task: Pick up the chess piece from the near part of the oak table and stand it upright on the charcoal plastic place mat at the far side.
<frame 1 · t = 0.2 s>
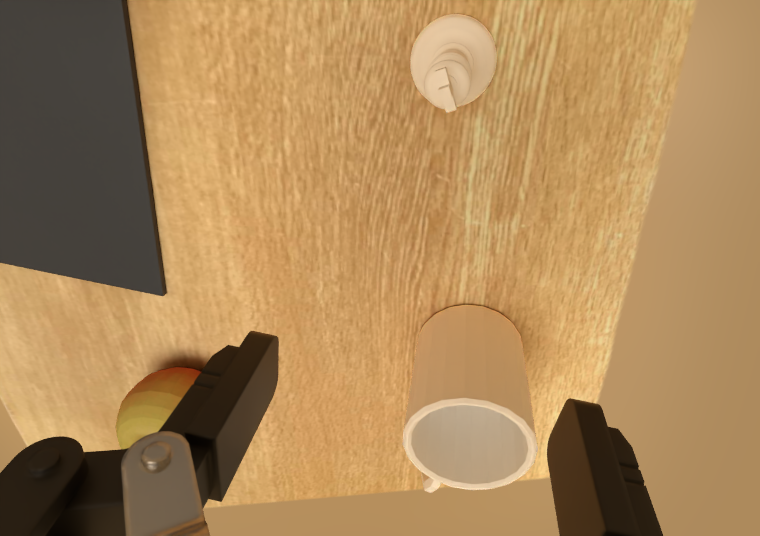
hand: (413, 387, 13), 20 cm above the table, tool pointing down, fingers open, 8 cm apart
mug: (458, 361, 38), on the table
mat: (46, 149, 34), on the table
apple: (200, 389, 45), on the table
chess piece: (452, 61, 27), on the table
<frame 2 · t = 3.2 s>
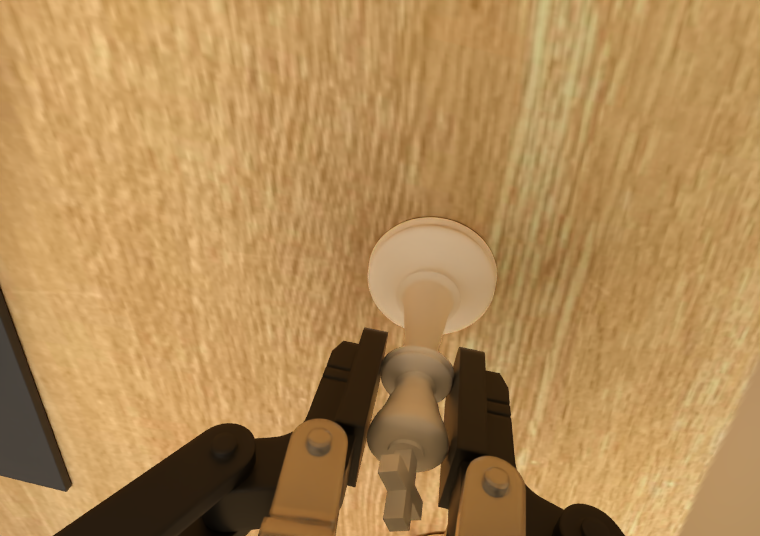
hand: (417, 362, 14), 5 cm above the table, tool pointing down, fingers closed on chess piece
chess piece: (431, 272, 18), on the table, touching gripper
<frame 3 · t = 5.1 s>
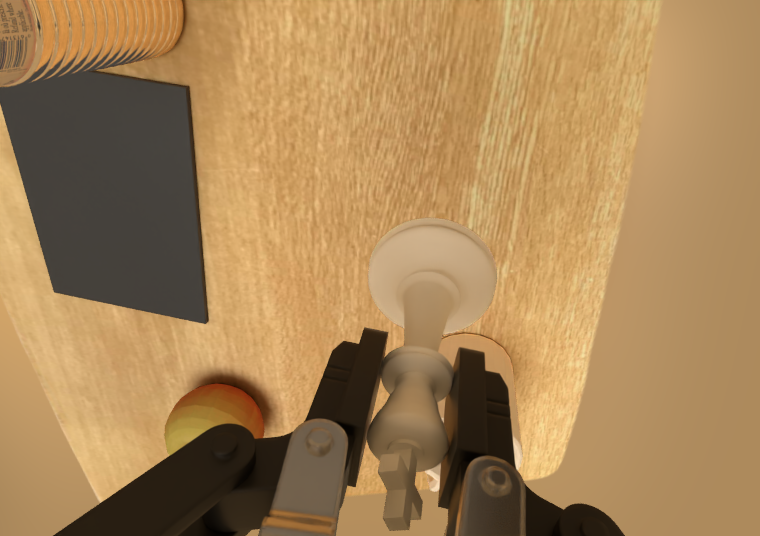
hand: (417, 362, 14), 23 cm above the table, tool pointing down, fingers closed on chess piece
mug: (458, 380, 45), on the table
mat: (113, 203, 41), on the table
water bottle: (143, 3, 33), on the table
apple: (232, 402, 52), on the table
chess piece: (431, 272, 18), point 18 cm above the table, touching gripper
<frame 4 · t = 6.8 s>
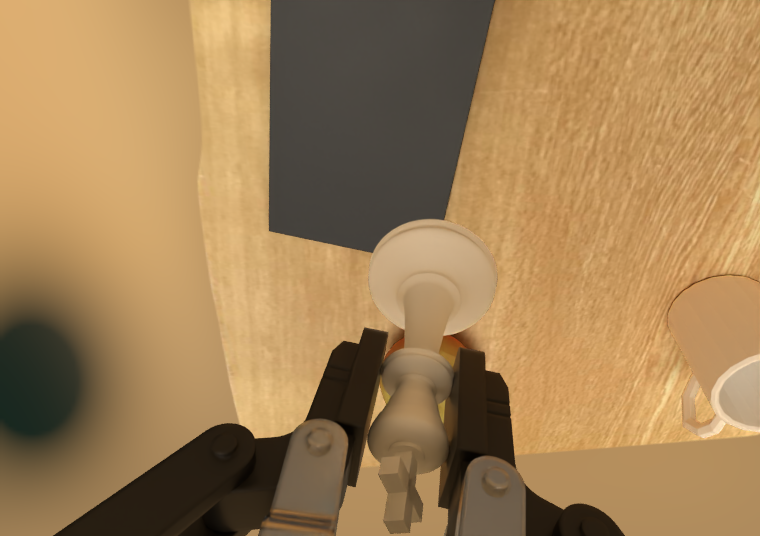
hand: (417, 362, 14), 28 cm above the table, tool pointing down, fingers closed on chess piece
mug: (701, 327, 43), on the table
mat: (364, 131, 39), on the table
apple: (432, 352, 50), on the table
chess piece: (432, 274, 18), point 23 cm above the table, touching gripper
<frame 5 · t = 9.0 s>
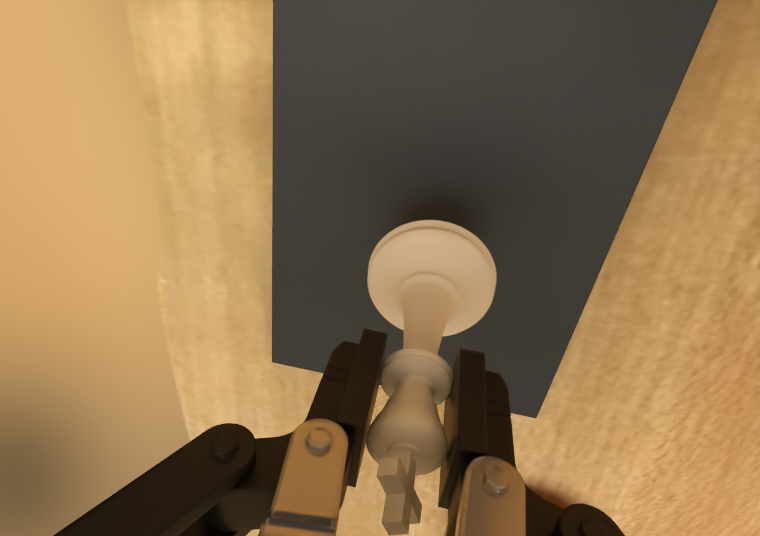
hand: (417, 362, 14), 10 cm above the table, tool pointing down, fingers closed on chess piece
mat: (435, 220, 23), on the table
chess piece: (431, 274, 18), point 5 cm above the table, touching gripper
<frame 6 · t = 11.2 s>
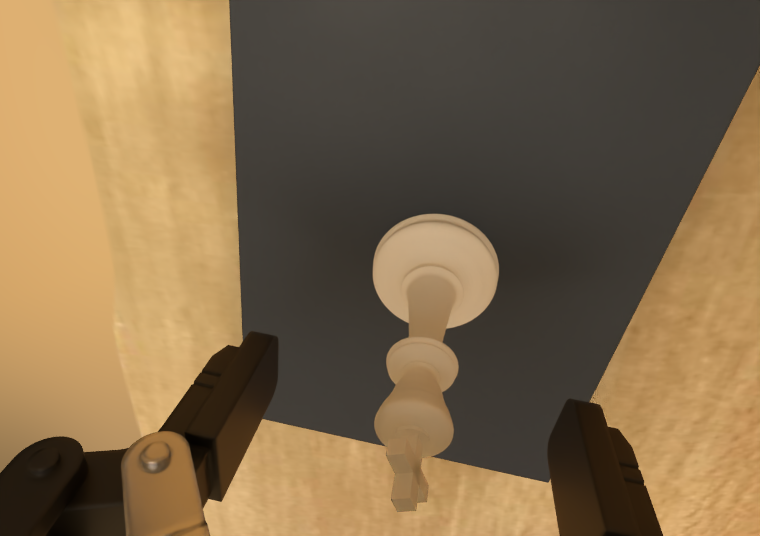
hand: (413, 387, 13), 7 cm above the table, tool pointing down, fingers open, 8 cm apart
mat: (431, 262, 19), on the table
chess piece: (435, 267, 19), resting on mat
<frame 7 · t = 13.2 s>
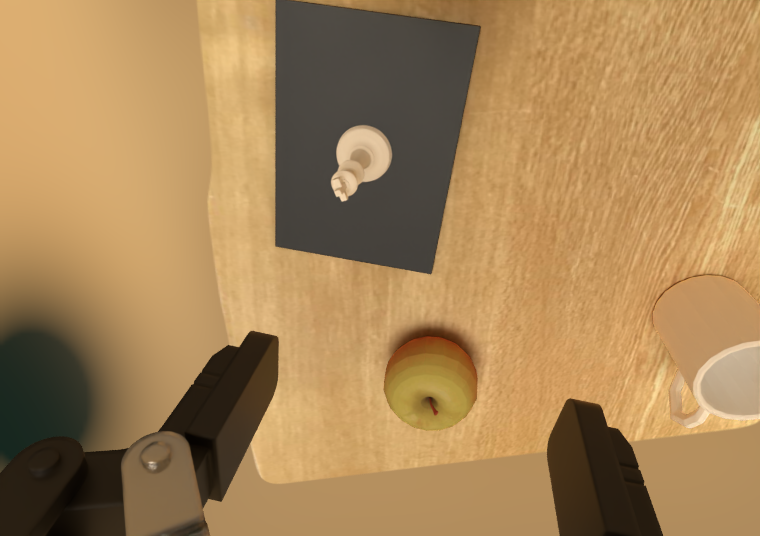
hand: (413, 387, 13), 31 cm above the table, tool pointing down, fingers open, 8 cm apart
mug: (684, 325, 46), on the table
mat: (363, 151, 42), on the table
apple: (432, 357, 53), on the table
chess piece: (364, 152, 42), resting on mat
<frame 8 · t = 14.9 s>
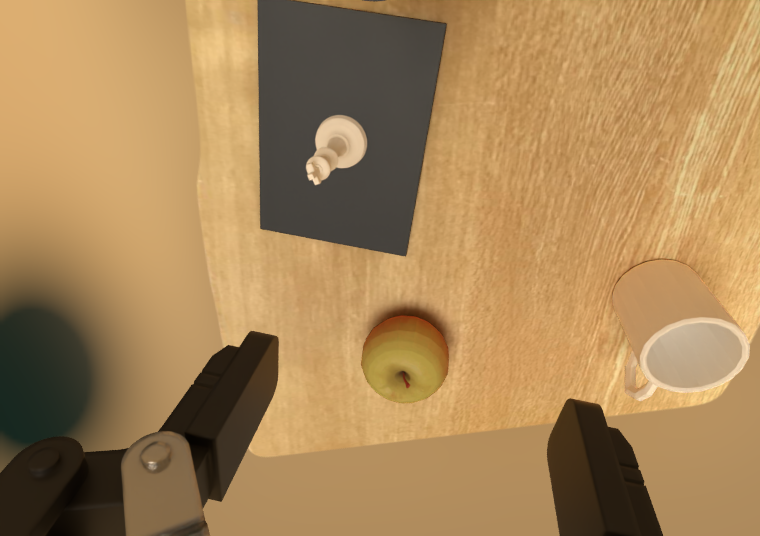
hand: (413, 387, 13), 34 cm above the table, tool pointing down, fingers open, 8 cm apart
mug: (642, 307, 49), on the table
mat: (341, 139, 45), on the table
apple: (409, 336, 56), on the table
chess piece: (342, 141, 45), resting on mat
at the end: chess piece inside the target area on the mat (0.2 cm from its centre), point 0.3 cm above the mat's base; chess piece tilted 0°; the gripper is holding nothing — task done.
